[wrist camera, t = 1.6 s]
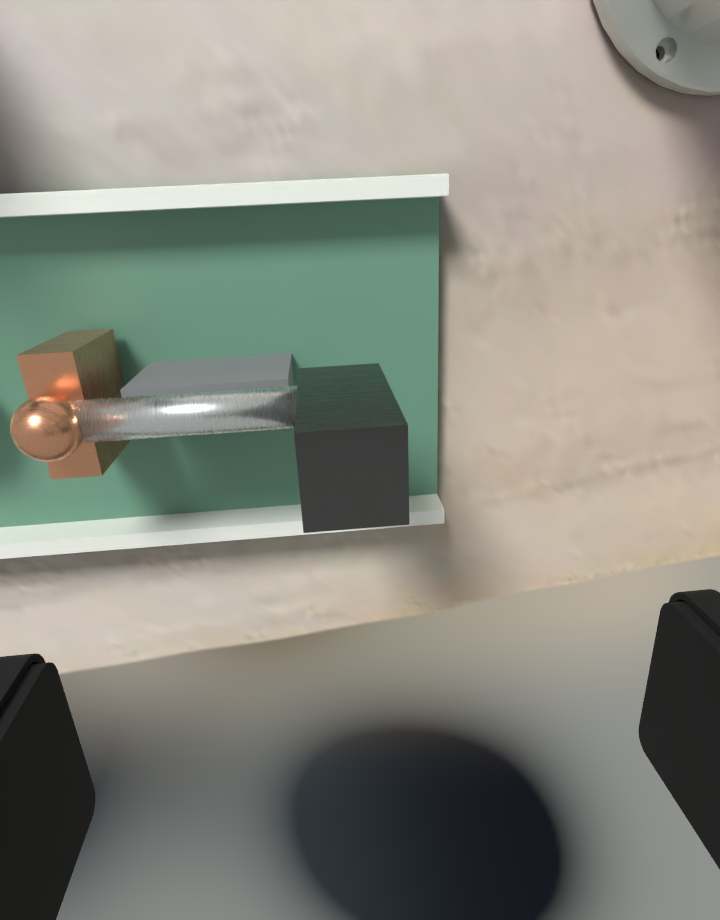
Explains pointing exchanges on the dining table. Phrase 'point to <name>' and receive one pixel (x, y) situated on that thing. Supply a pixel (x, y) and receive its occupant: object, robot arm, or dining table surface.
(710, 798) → the robot arm
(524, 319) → the dining table surface
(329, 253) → the pitch
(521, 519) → the dining table surface
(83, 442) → the copper block with rod
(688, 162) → the dining table surface
